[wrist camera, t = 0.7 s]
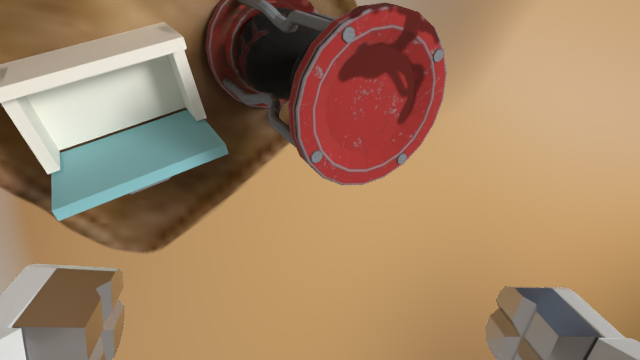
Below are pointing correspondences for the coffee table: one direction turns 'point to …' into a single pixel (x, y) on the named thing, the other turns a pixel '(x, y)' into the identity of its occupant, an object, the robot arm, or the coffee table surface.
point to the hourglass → (333, 79)
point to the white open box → (97, 89)
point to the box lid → (131, 161)
